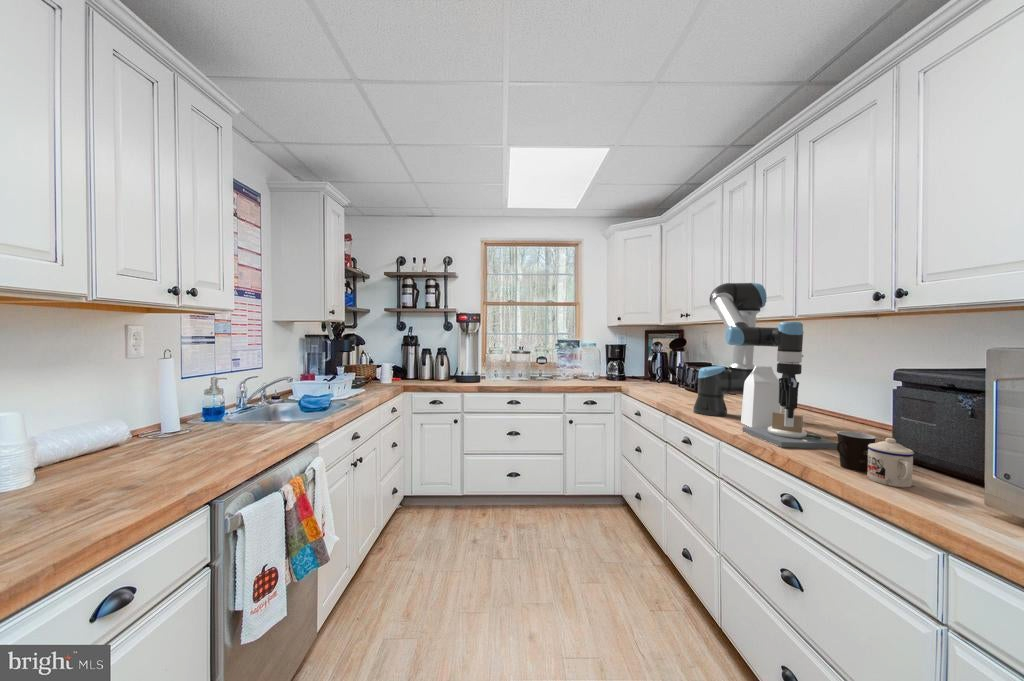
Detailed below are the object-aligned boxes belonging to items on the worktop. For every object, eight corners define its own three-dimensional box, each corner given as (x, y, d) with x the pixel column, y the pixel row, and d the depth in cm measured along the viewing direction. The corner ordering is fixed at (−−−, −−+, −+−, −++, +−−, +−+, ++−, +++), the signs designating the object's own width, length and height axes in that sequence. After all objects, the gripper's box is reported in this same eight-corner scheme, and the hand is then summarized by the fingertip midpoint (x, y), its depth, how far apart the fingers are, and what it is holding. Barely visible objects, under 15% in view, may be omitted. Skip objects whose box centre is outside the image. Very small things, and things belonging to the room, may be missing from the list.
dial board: (742, 431, 157) (742, 426, 157) (791, 432, 157) (791, 427, 157) (781, 447, 135) (781, 441, 135) (837, 448, 135) (838, 442, 135)
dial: (764, 433, 146) (764, 413, 146) (771, 428, 155) (772, 409, 154) (818, 442, 135) (819, 421, 135) (823, 436, 143) (824, 416, 143)
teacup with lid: (858, 474, 110) (859, 433, 110) (896, 477, 108) (898, 435, 108) (888, 490, 98) (890, 444, 98) (932, 494, 96) (934, 448, 96)
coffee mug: (858, 464, 119) (860, 431, 119) (882, 474, 110) (884, 439, 110) (818, 462, 120) (819, 429, 120) (838, 471, 111) (840, 437, 111)
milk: (751, 428, 164) (753, 366, 163) (740, 422, 175) (742, 364, 175) (783, 430, 161) (785, 367, 161) (770, 424, 173) (772, 365, 172)
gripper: (810, 365, 136) (807, 431, 137) (792, 362, 153) (790, 421, 153) (785, 364, 139) (782, 429, 139) (770, 361, 155) (768, 419, 155)
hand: (786, 425), depth 146 cm, fingers closed on dial, 4 cm apart
